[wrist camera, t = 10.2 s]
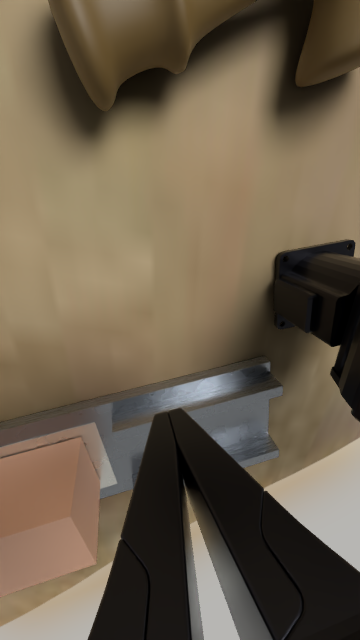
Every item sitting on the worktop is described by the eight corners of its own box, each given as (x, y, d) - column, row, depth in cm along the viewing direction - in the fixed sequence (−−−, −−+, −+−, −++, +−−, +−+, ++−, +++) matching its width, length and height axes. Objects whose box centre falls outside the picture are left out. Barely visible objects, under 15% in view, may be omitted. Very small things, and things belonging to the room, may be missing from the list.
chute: (264, 355, 24) (283, 375, 21) (262, 439, 28) (278, 464, 26) (-51, 434, 20) (-77, 471, 17) (9, 516, 24) (-4, 554, 22)
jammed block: (81, 436, 21) (70, 516, 16) (100, 482, 24) (96, 563, 18) (-26, 465, 20) (-77, 562, 15) (6, 510, 23) (-27, 606, 17)
